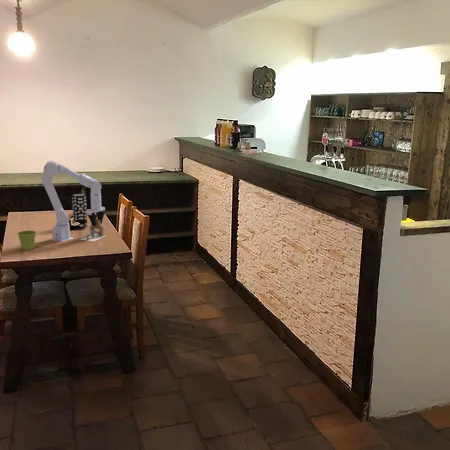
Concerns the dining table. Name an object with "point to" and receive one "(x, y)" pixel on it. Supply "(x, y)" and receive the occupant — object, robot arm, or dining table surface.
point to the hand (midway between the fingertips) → (96, 224)
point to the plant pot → (27, 239)
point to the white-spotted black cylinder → (80, 209)
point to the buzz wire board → (91, 238)
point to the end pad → (98, 236)
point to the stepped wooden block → (97, 227)
